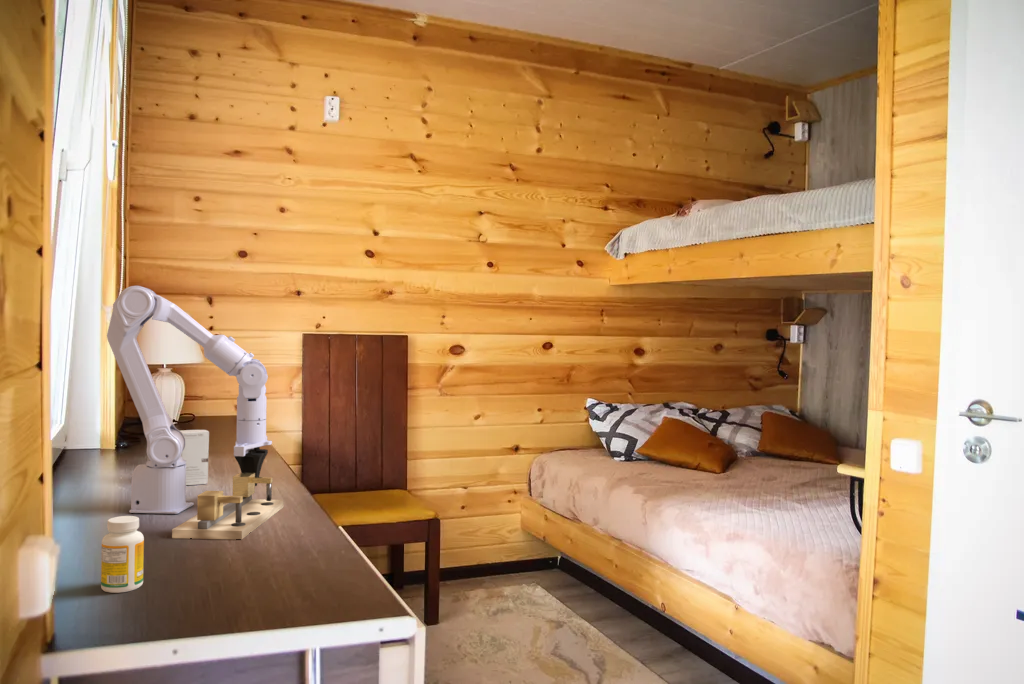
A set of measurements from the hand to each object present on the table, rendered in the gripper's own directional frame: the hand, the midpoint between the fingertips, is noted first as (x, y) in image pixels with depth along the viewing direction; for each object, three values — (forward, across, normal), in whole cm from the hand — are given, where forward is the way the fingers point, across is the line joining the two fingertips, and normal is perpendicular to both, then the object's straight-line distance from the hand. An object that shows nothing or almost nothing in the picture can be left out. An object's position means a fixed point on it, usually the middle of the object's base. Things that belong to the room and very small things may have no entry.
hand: (250, 486), depth 162 cm
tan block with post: (+2, -4, -2) cm, 5 cm away
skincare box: (+4, +20, +20) cm, 28 cm away
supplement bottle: (+4, -50, +1) cm, 50 cm away
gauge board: (+4, -13, -1) cm, 14 cm away
